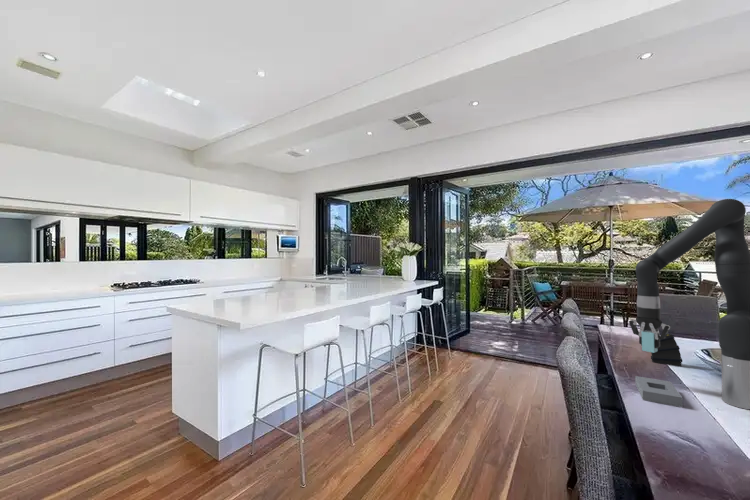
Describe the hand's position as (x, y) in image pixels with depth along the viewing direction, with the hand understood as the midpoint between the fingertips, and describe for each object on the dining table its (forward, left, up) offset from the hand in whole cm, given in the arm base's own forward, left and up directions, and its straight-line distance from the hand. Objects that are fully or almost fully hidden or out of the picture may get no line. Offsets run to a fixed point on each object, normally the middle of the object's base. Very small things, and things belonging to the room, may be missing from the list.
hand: (649, 346), depth 134 cm
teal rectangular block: (0, 0, -2) cm, 2 cm away
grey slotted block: (-6, +12, -15) cm, 20 cm away
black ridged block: (+5, -34, -16) cm, 38 cm away
